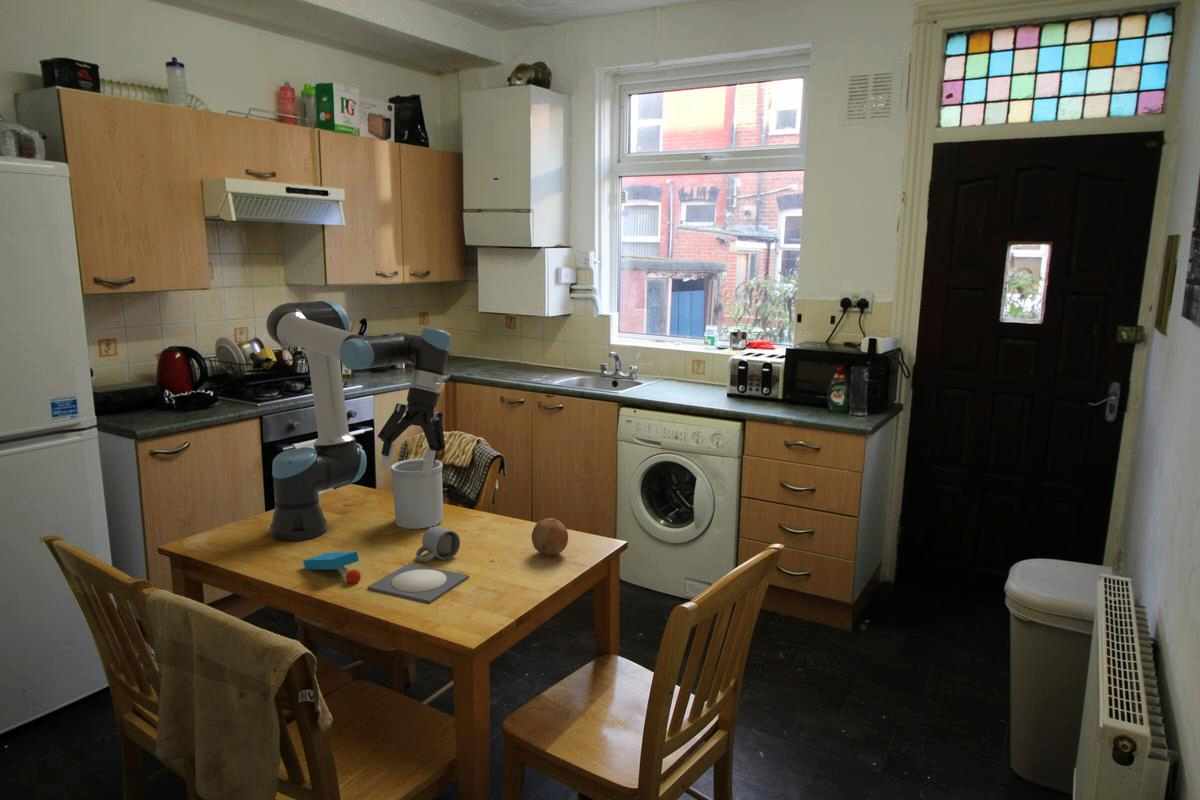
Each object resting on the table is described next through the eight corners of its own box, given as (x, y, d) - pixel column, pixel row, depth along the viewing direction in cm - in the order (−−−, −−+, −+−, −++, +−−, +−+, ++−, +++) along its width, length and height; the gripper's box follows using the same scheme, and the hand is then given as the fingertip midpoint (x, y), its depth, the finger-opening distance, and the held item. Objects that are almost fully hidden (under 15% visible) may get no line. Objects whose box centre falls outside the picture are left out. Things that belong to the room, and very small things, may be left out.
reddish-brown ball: (569, 547, 214) (569, 512, 212) (566, 562, 204) (567, 525, 202) (533, 547, 214) (533, 512, 212) (529, 561, 204) (529, 524, 202)
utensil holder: (383, 527, 227) (381, 469, 224) (407, 511, 242) (405, 456, 238) (430, 532, 224) (429, 473, 221) (452, 515, 238) (450, 460, 235)
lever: (308, 587, 198) (345, 588, 186) (303, 560, 198) (340, 559, 186) (333, 579, 203) (371, 579, 191) (327, 552, 203) (365, 551, 191)
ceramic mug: (444, 547, 213) (442, 520, 212) (461, 555, 207) (460, 528, 206) (409, 558, 206) (408, 530, 204) (426, 567, 200) (425, 538, 199)
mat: (367, 589, 186) (367, 585, 186) (409, 565, 201) (409, 562, 200) (430, 603, 179) (430, 600, 179) (469, 577, 193) (469, 574, 193)
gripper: (396, 381, 185) (375, 469, 184) (469, 400, 205) (451, 479, 204) (376, 378, 190) (355, 464, 188) (449, 396, 210) (432, 474, 208)
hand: (405, 472), depth 196 cm, fingers open, 13 cm apart
